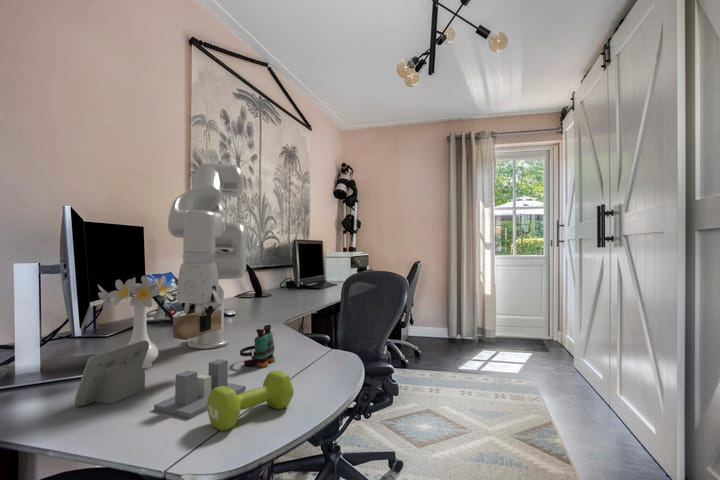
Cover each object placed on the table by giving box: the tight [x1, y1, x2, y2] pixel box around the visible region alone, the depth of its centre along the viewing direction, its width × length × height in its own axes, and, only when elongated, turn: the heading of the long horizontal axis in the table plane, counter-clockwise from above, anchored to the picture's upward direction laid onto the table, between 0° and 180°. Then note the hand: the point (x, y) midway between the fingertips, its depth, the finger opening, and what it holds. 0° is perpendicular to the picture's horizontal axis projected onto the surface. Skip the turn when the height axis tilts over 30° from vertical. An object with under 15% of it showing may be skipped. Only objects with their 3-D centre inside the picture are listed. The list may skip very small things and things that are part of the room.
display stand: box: [153, 358, 247, 420], centre depth 83 cm, size 10×16×7 cm, turn 157°
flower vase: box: [97, 275, 176, 370], centre depth 105 cm, size 13×18×25 cm
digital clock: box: [74, 341, 149, 407], centre depth 86 cm, size 16×9×11 cm, turn 157°
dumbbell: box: [207, 369, 294, 432], centre depth 76 cm, size 16×8×7 cm, turn 138°
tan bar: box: [172, 310, 222, 341], centre depth 98 cm, size 4×12×5 cm, turn 157°
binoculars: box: [239, 324, 276, 368], centre depth 110 cm, size 9×11×10 cm
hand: (198, 328), depth 98 cm, fingers closed on tan bar, 4 cm apart
